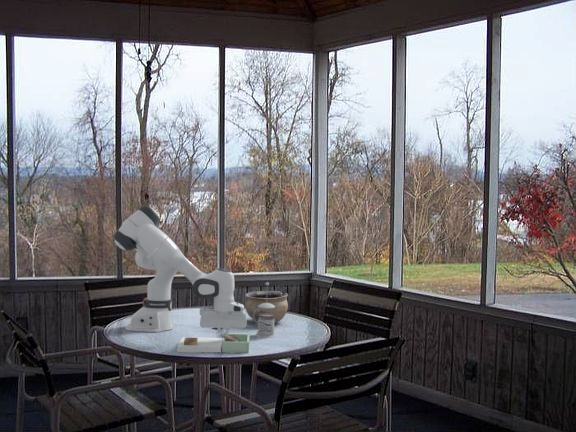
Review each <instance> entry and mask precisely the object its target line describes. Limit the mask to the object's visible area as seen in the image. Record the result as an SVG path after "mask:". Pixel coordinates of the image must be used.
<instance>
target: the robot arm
mask: <svg viewBox="0 0 576 432" xmlns="http://www.w3.org/2000/svg"><path fill="white" fill-rule="evenodd" d="M159 222H160V216H159V214H158V212H157V211H156V210H155V209H154V208H153V207H151V206H149V205H142V206H140V207H139V208H138V209H137V210H136V211H134V212H133V213H132V214H131V215H130V216H129V217H128V218H126V219H125V220H124V221H123V222H122V224H121V226H120V227H119V229H118V230H116V231H115V233H114V234H113V236H112V237H113V240H114V242H115V244H116V246H117V247H118V248H119V249H121V250H124V251H126V252H131V251H132V250H135V251H136V253H135V255H134V260H135V264H136V266H137V267H139V268H142V269H145V270H149V271H156V275H155V277H154V278H152V279H150V280H149V281H148V283H147V290H146V291H147V297H145V298H143V300H142V307H141V308H140V309H138V310H137V311H136V312H135V313H133V314H132V316H131V318H130V323H128V324H126V326H125V330H126V331H131V332H132V331H133V332H145V333H159V332H163V331H169V330H173V329H174V323H173V319H172V318H173V317H172V309H173V308H172V307H173V306H172V304H173V303H172V302H173V301H172V298H171V297H172V294H171V293H172V284H173V283H172V282H173V279H174V277H175V276H176V274H177V272H180V273H181V274H182V275H183V276H184V277H185V278H187V279H188V280H189V282H190V284H192V289H191V290H192V294H193V295H194V296H195V297H196V298H198V299H200V300H207V299H212V298H213V305H203V306H201V307H200V308H199V315H200V319H199V326H200V327H201V328H209V329H211V328H212V329H215V328H217V333H218V334H219V338H223V339H224V338H227V334H229V331H230V329H246V327H248V326H247V325H248V322H247V321H248V320H247V314H246V313H247V312H246V311H245V305H244V304H242V303H239V302H236V301H235V296H234V294H235V289H236V288H235V286H236V285H235V273H234V272H233V271H231V270H229V269H226V268H219V267H218V268H216V269H215V270H213V271H211V272H210V273H208V272H205V271H203V270H201V269H199V268H198V267H197V266H196V265H195V264H193V263H192V262H191V261H190V260H189V259H188V258H187V257H186V256H185V255H184V253H183V252H182V251H181V250H180V248H179V247H178V245H177V244H176V243H175V242H174V240H172V239H171V237H169V236H168V235H167V234H166V233H165V232H163V230H161V229H160V228H158V227H157V224H158V223H159ZM222 329H225V331H226V332H225V333H224V332H221V330H222Z"/></svg>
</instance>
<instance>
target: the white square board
mask: <svg viewBox="0 0 576 432" xmlns="http://www.w3.org/2000/svg"><path fill="white" fill-rule="evenodd" d="M185 338H197V344H196V345H184V340H185ZM222 341H224V338H220V337H201V336H200V337H196V336H194V337H192V336H191V337H190V336H189V337H188V336H187V337H186V336H185V337H184V336H182V338H181V339H180V341H179V343H178V345H177V347H176V348H177V350H176V351H177V353H201V352H205V353H207V352H221V353H222Z"/></svg>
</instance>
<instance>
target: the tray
mask: <svg viewBox="0 0 576 432" xmlns="http://www.w3.org/2000/svg"><path fill="white" fill-rule="evenodd" d="M228 335H229V336H231V337H234V338H236V339H238V342H228V341H225V340H226V338H223V341H222V350H221V353H222V352H234V353H235V354H236V353H237V354H239V353H240V354H249V353H250V352H249V351H250V338H251V337H250V336H251V335H250V333H227V336H228ZM234 353H233V354H234Z"/></svg>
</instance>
